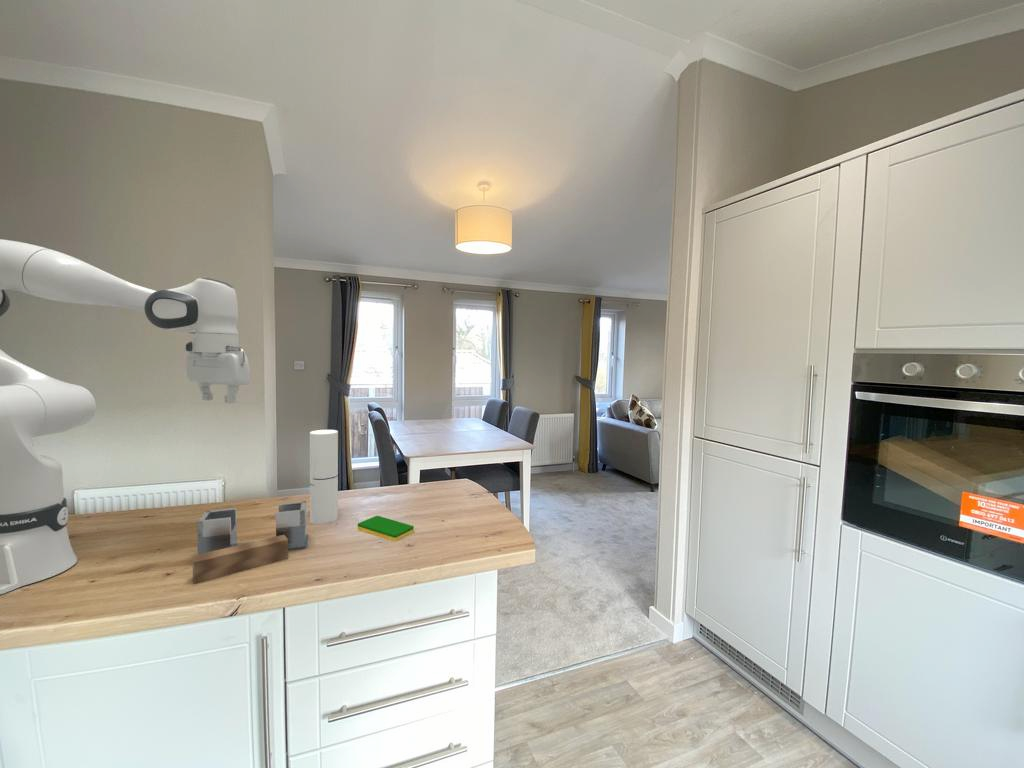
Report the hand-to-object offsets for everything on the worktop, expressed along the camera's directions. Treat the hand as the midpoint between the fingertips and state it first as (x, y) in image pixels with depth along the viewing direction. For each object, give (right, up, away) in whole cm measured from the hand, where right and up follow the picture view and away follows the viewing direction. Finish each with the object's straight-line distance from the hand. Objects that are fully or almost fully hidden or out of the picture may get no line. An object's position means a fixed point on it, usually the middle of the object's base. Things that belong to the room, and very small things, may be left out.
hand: (218, 401), depth 105 cm
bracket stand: (+13, -35, -5) cm, 38 cm away
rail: (+15, -36, -14) cm, 41 cm away
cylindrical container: (+20, -34, +14) cm, 42 cm away
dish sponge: (+40, -36, +7) cm, 54 cm away
